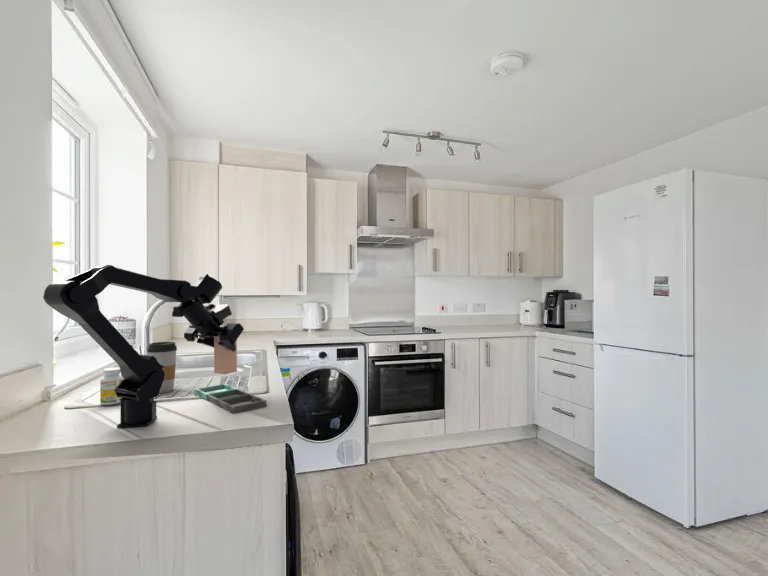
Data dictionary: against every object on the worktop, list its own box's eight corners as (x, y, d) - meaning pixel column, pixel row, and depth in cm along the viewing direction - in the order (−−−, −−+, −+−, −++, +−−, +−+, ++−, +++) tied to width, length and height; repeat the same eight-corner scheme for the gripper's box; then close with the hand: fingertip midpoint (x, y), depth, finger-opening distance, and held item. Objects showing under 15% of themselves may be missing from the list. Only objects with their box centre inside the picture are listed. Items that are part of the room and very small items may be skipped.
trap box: (266, 405, 110) (266, 400, 110) (232, 413, 103) (232, 407, 103) (225, 388, 130) (225, 383, 130) (194, 393, 123) (194, 388, 123)
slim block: (225, 374, 118) (225, 330, 118) (214, 373, 120) (214, 329, 120) (236, 371, 122) (236, 328, 122) (225, 370, 124) (225, 328, 124)
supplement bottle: (107, 406, 110) (107, 371, 110) (95, 404, 112) (95, 369, 112) (127, 401, 115) (127, 367, 115) (115, 399, 117) (115, 366, 117)
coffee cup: (140, 393, 124) (140, 344, 124) (161, 386, 132) (161, 341, 132) (163, 394, 122) (163, 345, 122) (183, 388, 130) (183, 342, 130)
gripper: (238, 295, 113) (265, 330, 123) (192, 294, 121) (221, 328, 131) (216, 325, 106) (247, 360, 116) (168, 323, 114) (201, 355, 124)
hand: (228, 349), depth 122 cm, fingers closed on slim block, 4 cm apart
